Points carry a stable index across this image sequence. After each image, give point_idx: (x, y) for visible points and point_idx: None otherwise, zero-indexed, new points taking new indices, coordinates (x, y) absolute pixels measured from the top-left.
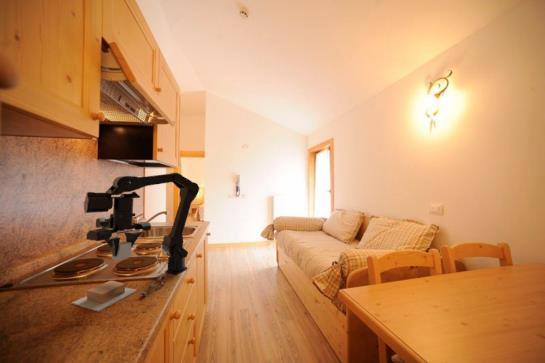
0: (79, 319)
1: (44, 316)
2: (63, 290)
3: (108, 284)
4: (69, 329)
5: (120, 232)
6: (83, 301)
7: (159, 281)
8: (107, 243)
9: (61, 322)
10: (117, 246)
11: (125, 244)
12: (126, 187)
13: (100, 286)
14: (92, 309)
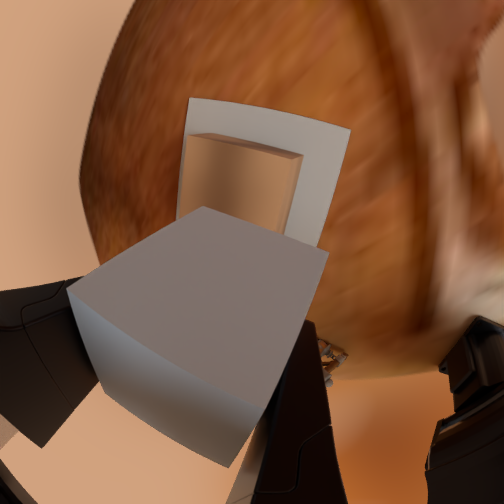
0: (148, 209)
1: (138, 95)
2: None
3: (248, 186)
4: (126, 220)
5: (20, 496)
6: (200, 132)
7: (331, 362)
8: (9, 292)
9: (132, 173)
10: (90, 373)
11: (161, 425)
12: None
13: (224, 163)
14: (177, 208)
